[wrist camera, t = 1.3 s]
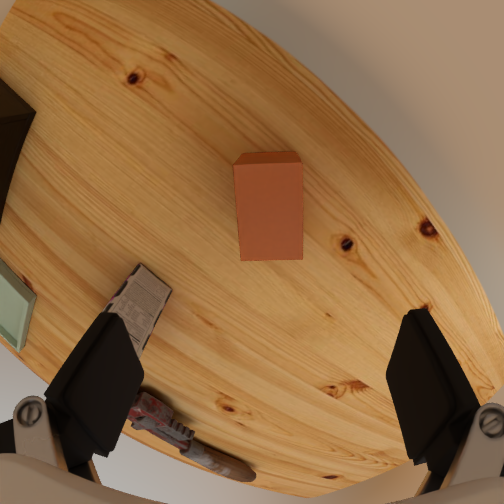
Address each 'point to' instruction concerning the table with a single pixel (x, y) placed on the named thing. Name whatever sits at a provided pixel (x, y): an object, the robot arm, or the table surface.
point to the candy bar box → (139, 304)
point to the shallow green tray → (14, 307)
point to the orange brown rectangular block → (269, 205)
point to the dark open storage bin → (11, 135)
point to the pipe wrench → (183, 438)
